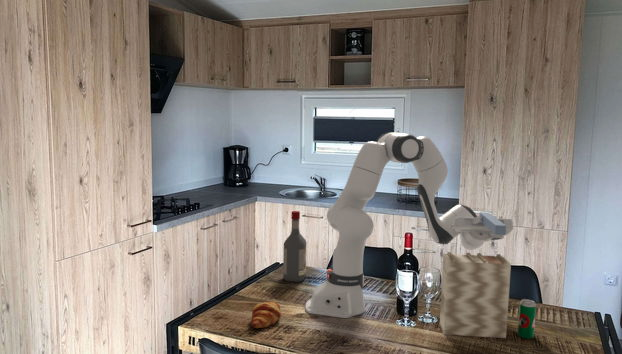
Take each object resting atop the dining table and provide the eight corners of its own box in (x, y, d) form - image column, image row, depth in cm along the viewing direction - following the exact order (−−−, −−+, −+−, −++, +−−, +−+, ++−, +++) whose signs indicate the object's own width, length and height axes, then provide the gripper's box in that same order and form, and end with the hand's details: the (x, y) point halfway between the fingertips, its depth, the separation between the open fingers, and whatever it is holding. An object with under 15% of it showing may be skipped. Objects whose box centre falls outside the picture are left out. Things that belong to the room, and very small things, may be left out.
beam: (495, 234, 157) (495, 225, 157) (479, 220, 179) (479, 212, 178) (505, 235, 157) (506, 225, 156) (488, 220, 179) (488, 212, 178)
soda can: (535, 340, 163) (538, 304, 162) (519, 338, 164) (521, 303, 163) (531, 333, 168) (534, 299, 167) (515, 332, 169) (518, 298, 168)
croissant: (270, 317, 187) (261, 297, 187) (293, 308, 184) (283, 288, 184) (247, 339, 166) (237, 317, 167) (272, 330, 164) (262, 307, 164)
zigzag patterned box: (443, 334, 167) (447, 258, 164) (439, 323, 175) (443, 251, 172) (505, 338, 165) (511, 261, 162) (498, 326, 173) (503, 254, 170)
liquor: (282, 281, 217) (283, 213, 214) (286, 274, 226) (287, 209, 223) (302, 282, 216) (304, 214, 212) (306, 276, 225) (307, 210, 221)
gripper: (449, 220, 188) (456, 208, 176) (505, 223, 186) (516, 210, 173) (450, 237, 186) (457, 225, 173) (507, 239, 184) (518, 228, 171)
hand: (487, 218), depth 173 cm, fingers closed on beam, 3 cm apart
